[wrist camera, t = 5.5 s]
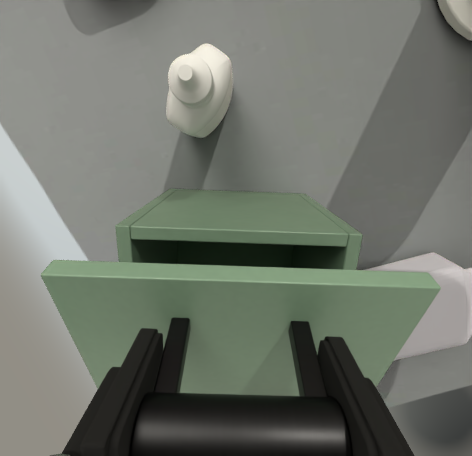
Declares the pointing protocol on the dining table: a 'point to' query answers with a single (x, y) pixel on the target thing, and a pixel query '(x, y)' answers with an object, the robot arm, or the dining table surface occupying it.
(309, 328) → the bin lid
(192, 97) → the eye dropper bottle
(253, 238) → the bin
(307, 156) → the dining table surface
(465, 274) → the charger
